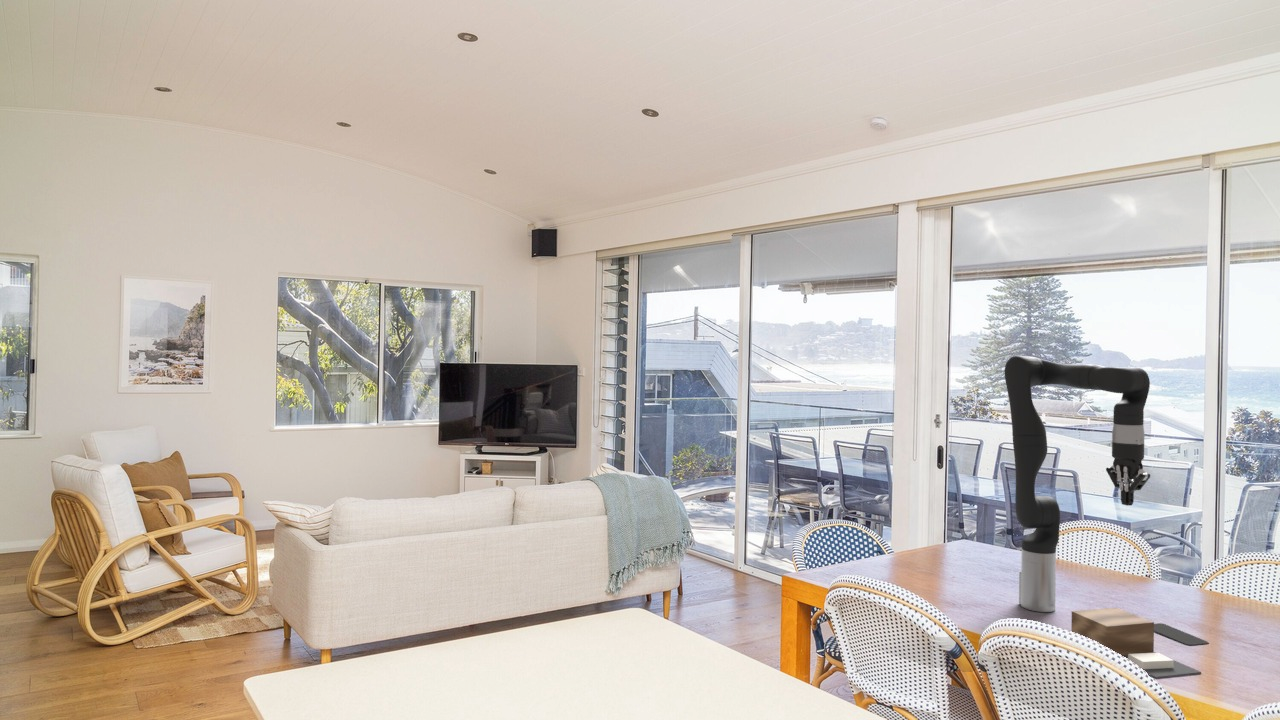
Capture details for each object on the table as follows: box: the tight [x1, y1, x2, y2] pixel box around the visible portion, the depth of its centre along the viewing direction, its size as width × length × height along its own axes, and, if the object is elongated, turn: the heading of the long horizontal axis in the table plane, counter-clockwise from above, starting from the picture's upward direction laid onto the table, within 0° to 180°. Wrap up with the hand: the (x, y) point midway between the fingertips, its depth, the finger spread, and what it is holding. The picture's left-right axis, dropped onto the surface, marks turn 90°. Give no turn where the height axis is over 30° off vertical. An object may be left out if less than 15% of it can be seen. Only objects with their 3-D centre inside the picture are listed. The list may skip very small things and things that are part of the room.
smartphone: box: [1154, 622, 1209, 647], centre depth 220 cm, size 7×1×15 cm
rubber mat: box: [1122, 651, 1202, 680], centre depth 199 cm, size 13×13×1 cm
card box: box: [1128, 652, 1174, 670], centre depth 198 cm, size 5×8×2 cm, turn 97°
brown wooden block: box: [1070, 607, 1155, 655], centre depth 211 cm, size 12×14×8 cm
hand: (1127, 504), depth 221 cm, fingers closed
